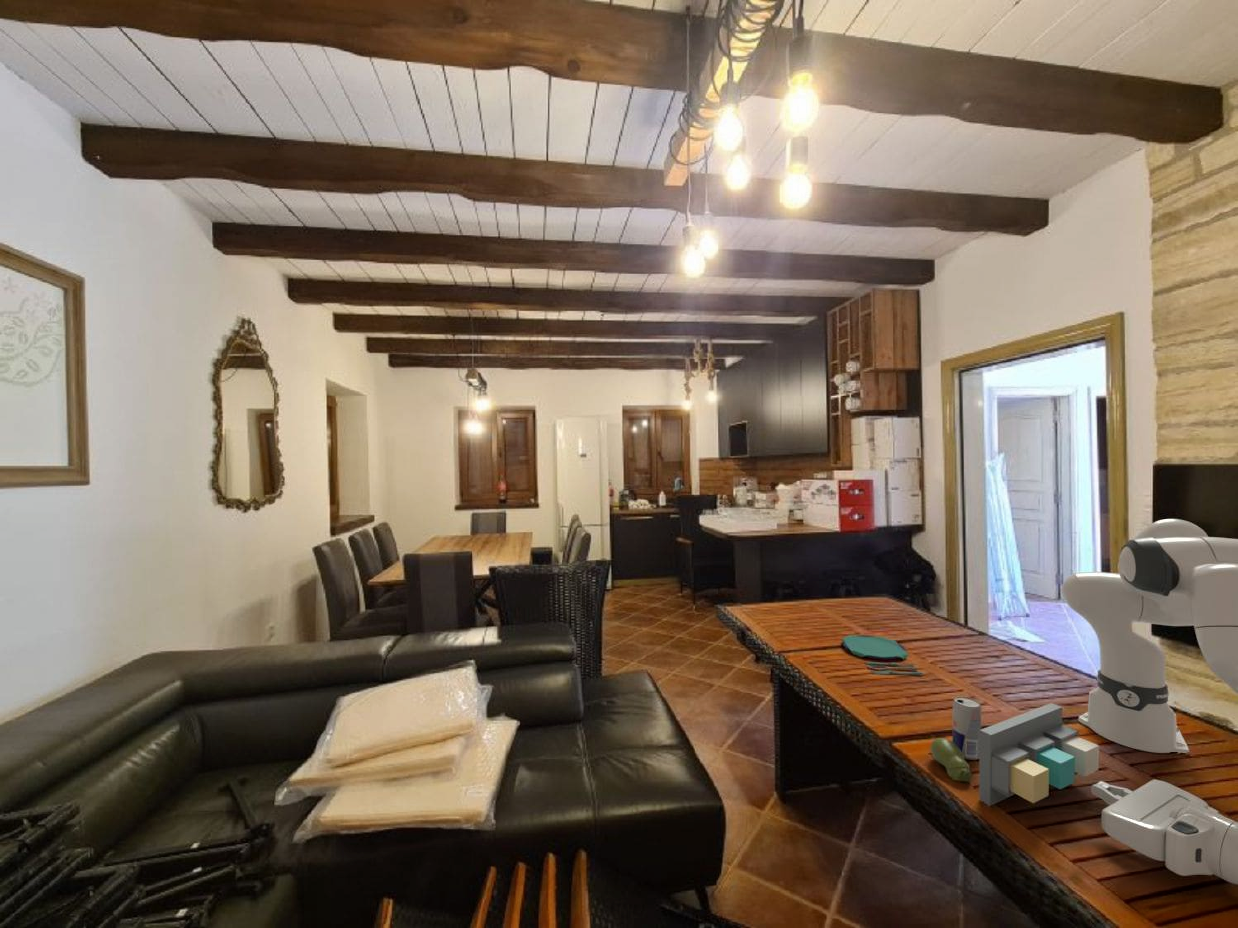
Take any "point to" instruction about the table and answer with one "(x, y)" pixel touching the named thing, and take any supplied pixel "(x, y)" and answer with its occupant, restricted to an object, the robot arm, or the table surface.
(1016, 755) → the control panel
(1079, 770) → the button cream
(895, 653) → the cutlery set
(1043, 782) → the button mustard
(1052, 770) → the button teal
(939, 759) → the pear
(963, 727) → the energy drink
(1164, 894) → the table surface
